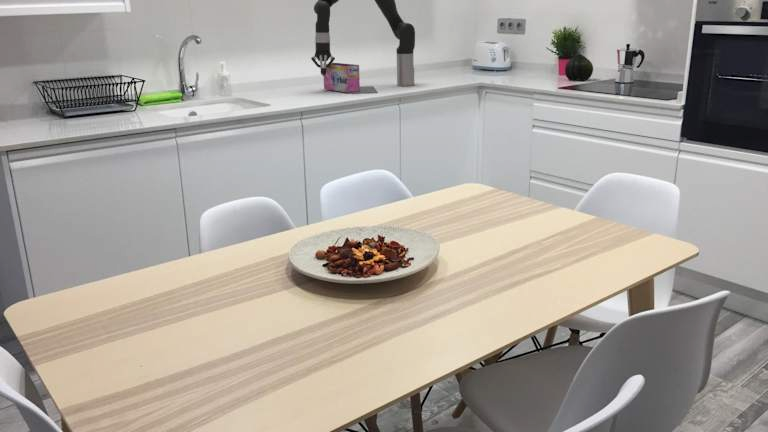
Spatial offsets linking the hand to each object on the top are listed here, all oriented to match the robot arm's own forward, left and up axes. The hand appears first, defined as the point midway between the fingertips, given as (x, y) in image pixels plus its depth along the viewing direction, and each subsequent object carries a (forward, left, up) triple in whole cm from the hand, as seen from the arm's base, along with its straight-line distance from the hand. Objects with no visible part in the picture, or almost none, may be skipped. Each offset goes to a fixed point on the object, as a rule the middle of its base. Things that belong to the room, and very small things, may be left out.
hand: (323, 75), depth 359 cm
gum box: (-9, 0, -8) cm, 12 cm away
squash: (-141, -6, -9) cm, 142 cm away
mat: (-21, 0, -9) cm, 22 cm away
